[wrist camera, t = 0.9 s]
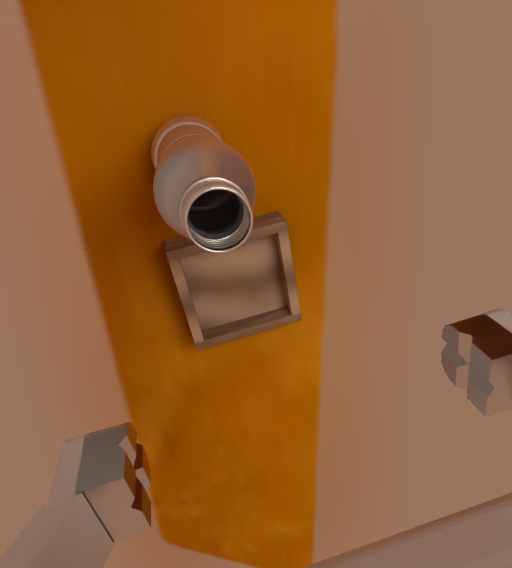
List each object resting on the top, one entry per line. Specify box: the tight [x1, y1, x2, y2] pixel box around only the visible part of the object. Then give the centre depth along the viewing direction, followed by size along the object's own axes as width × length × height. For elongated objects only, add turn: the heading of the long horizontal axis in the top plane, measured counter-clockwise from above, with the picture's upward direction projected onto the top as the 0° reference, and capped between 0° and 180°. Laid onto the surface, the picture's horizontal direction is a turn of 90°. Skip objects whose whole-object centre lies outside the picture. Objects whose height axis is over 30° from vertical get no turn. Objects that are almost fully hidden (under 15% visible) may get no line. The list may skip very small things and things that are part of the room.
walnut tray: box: [164, 212, 302, 351], centre depth 45 cm, size 12×12×3 cm
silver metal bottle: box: [151, 116, 256, 254], centre depth 30 cm, size 6×7×20 cm
